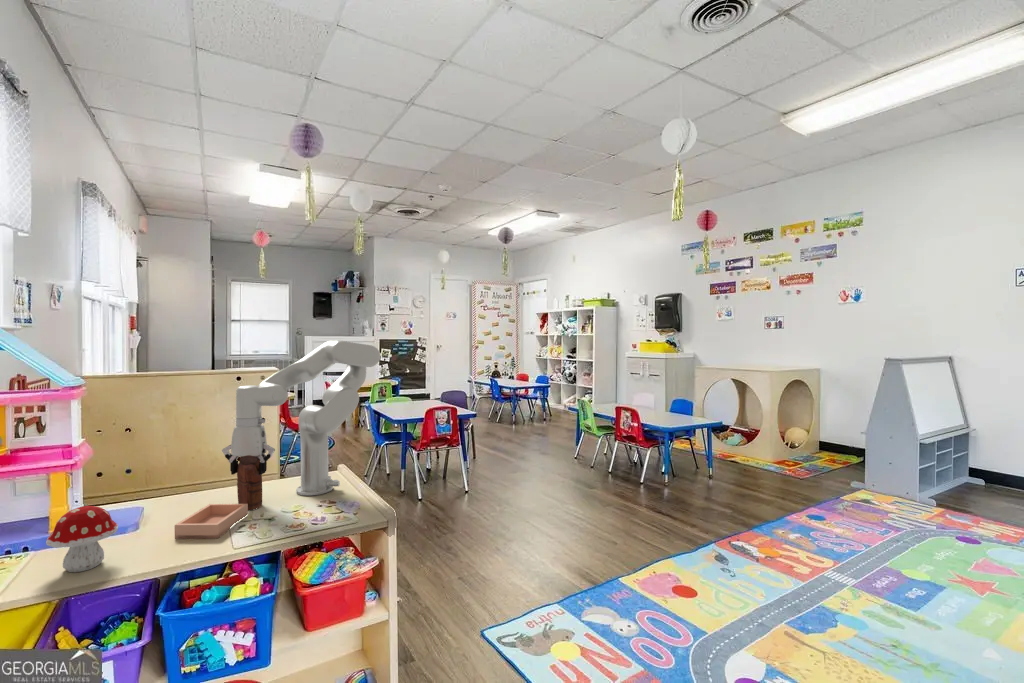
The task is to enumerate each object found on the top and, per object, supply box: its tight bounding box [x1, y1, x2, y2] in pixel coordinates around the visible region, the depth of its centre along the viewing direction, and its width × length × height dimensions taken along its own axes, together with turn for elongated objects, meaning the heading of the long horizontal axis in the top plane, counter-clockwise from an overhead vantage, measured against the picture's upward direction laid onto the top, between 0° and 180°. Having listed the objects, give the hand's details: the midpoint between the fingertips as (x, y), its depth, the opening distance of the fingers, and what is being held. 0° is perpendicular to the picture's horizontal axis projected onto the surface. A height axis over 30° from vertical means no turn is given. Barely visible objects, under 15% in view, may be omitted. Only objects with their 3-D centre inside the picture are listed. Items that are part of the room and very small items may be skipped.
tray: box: [174, 503, 249, 540], centre depth 148 cm, size 12×17×4 cm
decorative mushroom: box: [45, 505, 119, 573], centre depth 123 cm, size 14×14×15 cm
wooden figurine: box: [236, 455, 263, 512], centre depth 166 cm, size 12×6×18 cm, turn 48°
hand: (248, 473), depth 166 cm, fingers closed on wooden figurine, 8 cm apart
